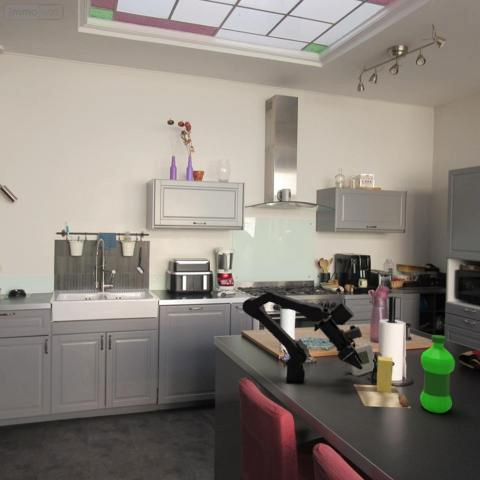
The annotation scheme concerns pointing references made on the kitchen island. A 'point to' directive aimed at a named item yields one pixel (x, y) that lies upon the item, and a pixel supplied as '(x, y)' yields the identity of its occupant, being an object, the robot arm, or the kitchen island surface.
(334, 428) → the kitchen island surface
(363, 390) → the panel
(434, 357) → the plastic bottle
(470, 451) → the kitchen island surface
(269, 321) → the robot arm
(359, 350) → the digital clock
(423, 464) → the kitchen island surface
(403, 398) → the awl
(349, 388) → the kitchen island surface
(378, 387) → the tall mustard yellow pillar
